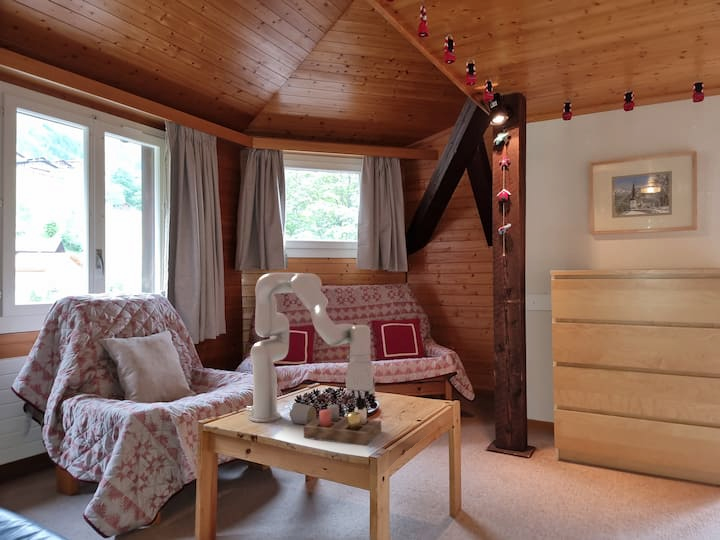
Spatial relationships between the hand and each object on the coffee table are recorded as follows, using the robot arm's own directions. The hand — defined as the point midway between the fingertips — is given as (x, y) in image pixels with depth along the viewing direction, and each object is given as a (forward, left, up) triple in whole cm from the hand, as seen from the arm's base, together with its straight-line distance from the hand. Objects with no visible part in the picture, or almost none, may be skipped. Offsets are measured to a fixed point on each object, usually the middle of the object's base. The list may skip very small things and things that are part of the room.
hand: (361, 408), depth 189 cm
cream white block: (0, 0, -5) cm, 5 cm away
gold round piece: (0, -7, -5) cm, 9 cm away
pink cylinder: (-11, -7, -5) cm, 14 cm away
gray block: (-11, 0, -5) cm, 12 cm away
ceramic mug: (-26, +5, -10) cm, 28 cm away
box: (-6, -3, -9) cm, 11 cm away
